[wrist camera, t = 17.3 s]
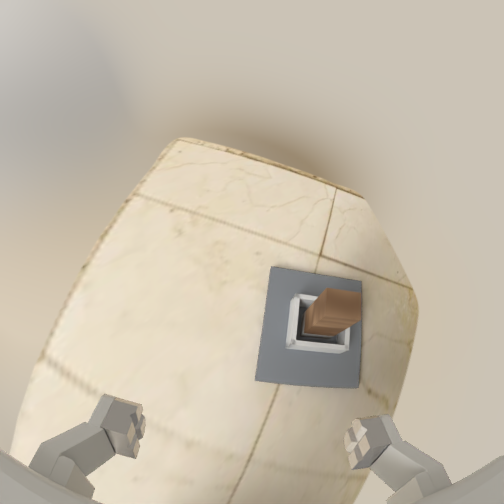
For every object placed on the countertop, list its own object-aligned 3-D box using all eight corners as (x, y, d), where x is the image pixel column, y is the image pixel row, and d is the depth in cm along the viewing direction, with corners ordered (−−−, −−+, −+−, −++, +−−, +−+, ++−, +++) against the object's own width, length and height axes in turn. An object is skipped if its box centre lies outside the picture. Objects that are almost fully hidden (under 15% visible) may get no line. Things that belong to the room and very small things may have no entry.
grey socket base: (355, 388, 32) (368, 386, 29) (254, 380, 32) (258, 379, 29) (358, 283, 40) (369, 272, 37) (270, 269, 40) (274, 256, 37)
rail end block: (328, 339, 35) (361, 319, 26) (299, 336, 35) (325, 315, 26) (329, 318, 36) (361, 292, 27) (301, 314, 36) (326, 287, 27)
